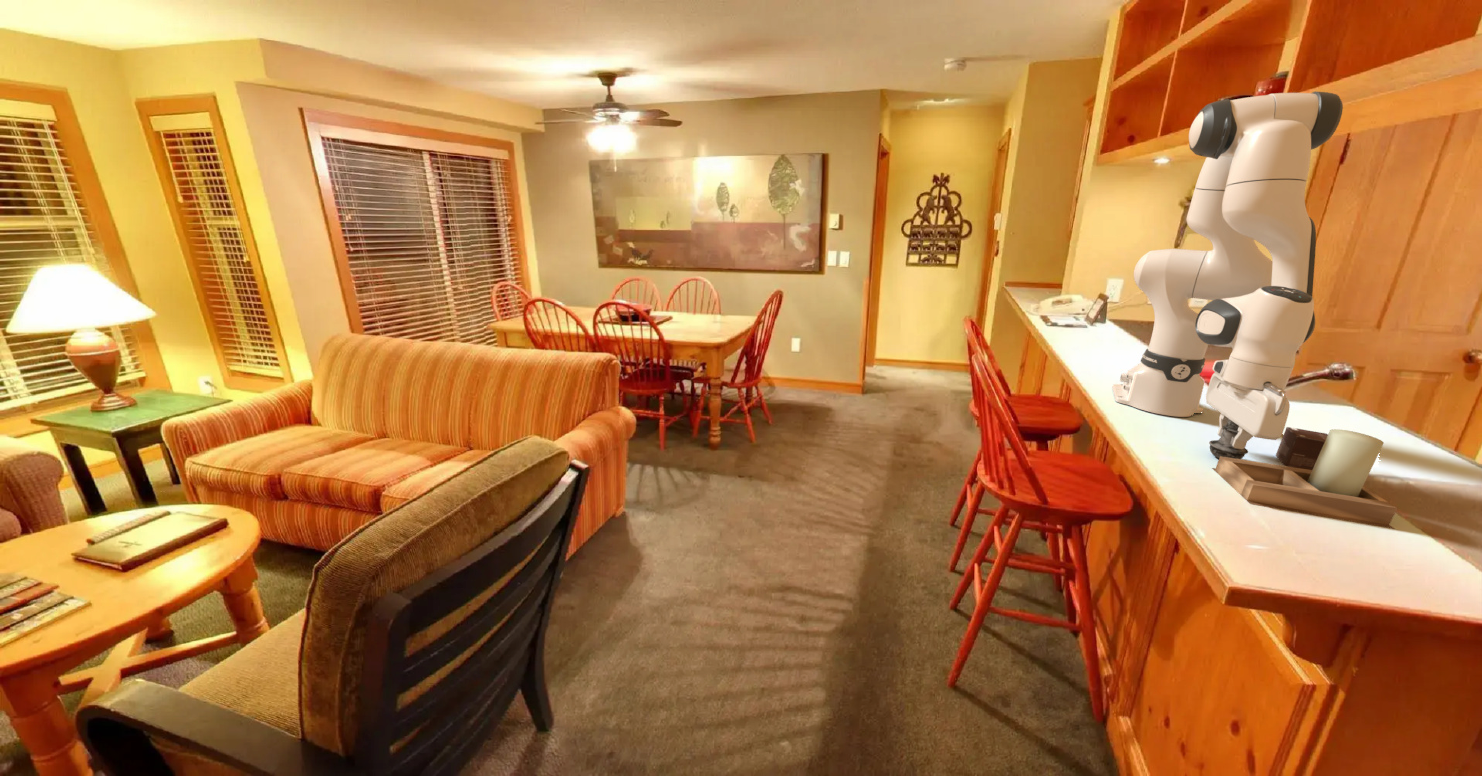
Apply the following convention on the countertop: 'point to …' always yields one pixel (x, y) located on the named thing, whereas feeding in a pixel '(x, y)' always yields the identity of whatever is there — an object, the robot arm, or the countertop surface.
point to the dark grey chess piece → (1227, 443)
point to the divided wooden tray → (1301, 493)
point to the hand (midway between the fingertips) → (1230, 442)
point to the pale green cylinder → (1345, 462)
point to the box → (1300, 448)
